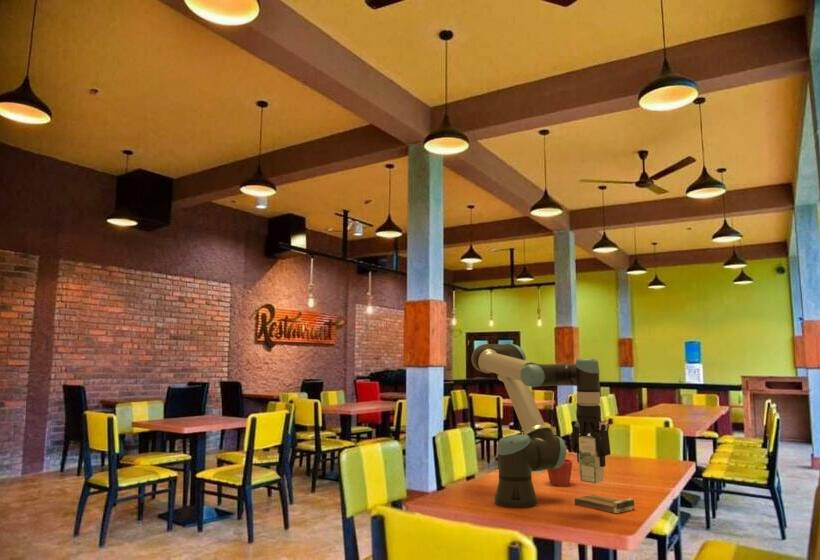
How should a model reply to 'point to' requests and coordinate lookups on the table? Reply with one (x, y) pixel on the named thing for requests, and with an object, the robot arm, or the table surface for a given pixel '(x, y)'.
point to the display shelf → (605, 503)
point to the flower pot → (561, 474)
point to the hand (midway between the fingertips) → (591, 474)
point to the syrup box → (588, 459)
